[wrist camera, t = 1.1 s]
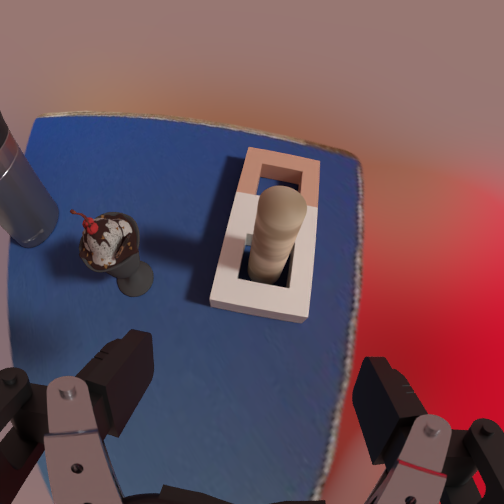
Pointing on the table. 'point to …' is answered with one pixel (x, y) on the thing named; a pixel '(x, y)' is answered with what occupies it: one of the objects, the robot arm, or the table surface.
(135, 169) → the table surface
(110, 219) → the sundae
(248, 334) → the table surface
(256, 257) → the peg
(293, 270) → the dock board
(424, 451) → the robot arm
